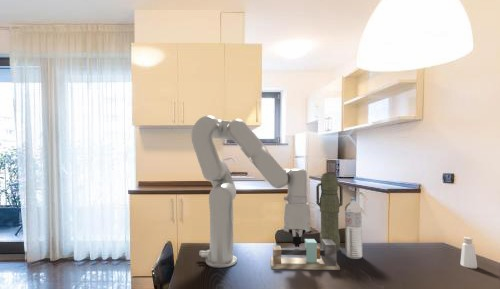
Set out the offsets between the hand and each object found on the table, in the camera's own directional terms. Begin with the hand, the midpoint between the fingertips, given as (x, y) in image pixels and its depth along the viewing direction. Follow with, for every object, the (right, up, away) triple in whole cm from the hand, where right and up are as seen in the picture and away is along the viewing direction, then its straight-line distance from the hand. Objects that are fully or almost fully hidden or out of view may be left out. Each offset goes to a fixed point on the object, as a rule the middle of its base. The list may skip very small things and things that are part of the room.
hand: (296, 245), depth 108 cm
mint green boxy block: (+5, -6, 0) cm, 8 cm away
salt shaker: (+68, -8, -1) cm, 68 cm away
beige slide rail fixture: (+3, -7, 0) cm, 8 cm away
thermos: (+18, -8, +18) cm, 27 cm away
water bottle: (+26, -8, +8) cm, 28 cm away
